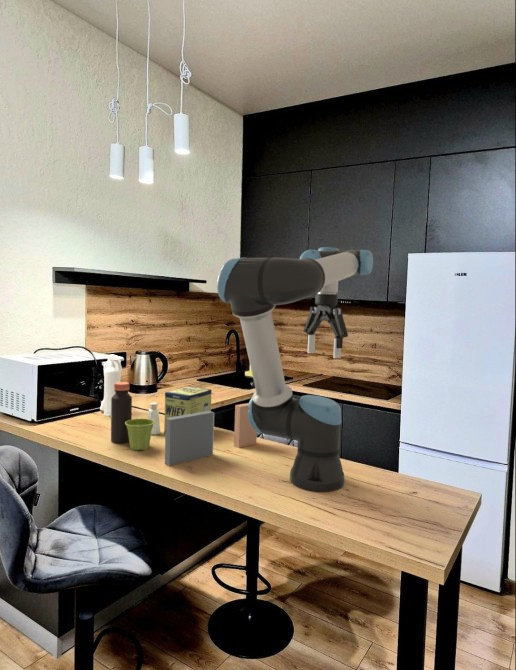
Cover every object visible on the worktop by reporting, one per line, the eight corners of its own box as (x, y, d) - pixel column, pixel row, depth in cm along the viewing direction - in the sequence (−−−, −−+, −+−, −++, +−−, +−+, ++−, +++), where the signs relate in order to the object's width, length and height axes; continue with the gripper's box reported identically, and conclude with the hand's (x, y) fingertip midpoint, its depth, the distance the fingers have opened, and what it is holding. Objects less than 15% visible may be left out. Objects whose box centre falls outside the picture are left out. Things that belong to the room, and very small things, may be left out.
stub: (251, 441, 168) (252, 402, 167) (256, 443, 166) (257, 403, 165) (234, 445, 162) (235, 405, 161) (238, 447, 161) (240, 406, 159)
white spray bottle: (107, 409, 206) (108, 352, 203) (126, 415, 199) (127, 355, 196) (94, 412, 200) (94, 353, 197) (113, 418, 194) (114, 357, 191)
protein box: (163, 434, 174) (164, 392, 173) (188, 424, 188) (189, 385, 186) (186, 439, 169) (187, 395, 168) (211, 429, 183) (212, 388, 182)
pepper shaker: (148, 435, 171) (149, 405, 171) (143, 431, 176) (144, 402, 175) (162, 433, 174) (163, 404, 173) (157, 430, 179) (158, 401, 178)
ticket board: (207, 453, 155) (209, 410, 154) (213, 455, 153) (214, 412, 152) (164, 463, 144) (165, 418, 143) (169, 466, 142) (170, 420, 141)
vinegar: (112, 444, 160) (112, 385, 159) (109, 438, 166) (110, 381, 165) (132, 442, 163) (133, 384, 161) (129, 436, 169) (130, 380, 168)
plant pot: (118, 449, 156) (118, 423, 155) (137, 441, 164) (137, 416, 164) (141, 454, 152) (141, 427, 151) (159, 446, 160) (160, 420, 160)
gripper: (360, 294, 155) (357, 359, 157) (311, 293, 176) (309, 350, 178) (343, 293, 151) (340, 360, 153) (295, 292, 172) (292, 351, 173)
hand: (323, 355), depth 165 cm, fingers open, 13 cm apart
